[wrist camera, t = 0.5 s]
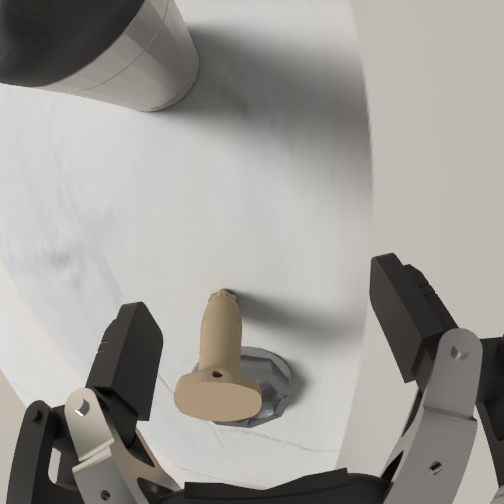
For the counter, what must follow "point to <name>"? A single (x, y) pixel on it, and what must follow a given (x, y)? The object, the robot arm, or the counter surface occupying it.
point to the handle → (219, 368)
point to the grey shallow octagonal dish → (264, 385)
